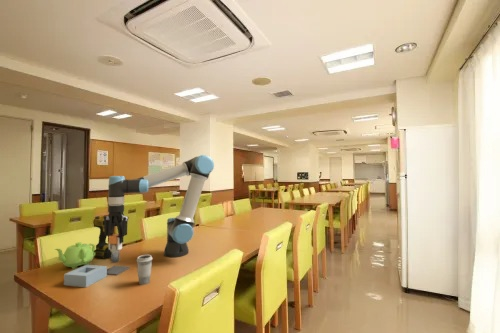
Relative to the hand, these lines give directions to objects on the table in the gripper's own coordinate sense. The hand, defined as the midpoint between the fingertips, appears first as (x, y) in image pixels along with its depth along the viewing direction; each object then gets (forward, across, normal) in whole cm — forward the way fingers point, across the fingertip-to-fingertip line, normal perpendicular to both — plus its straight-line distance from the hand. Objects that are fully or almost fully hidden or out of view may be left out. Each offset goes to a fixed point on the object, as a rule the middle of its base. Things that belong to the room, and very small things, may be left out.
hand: (115, 248), depth 128 cm
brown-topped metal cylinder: (+7, 0, 0) cm, 7 cm away
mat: (+11, 0, 0) cm, 11 cm away
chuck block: (+11, +5, +13) cm, 18 cm away
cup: (+12, -24, +10) cm, 29 cm away
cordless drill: (+12, +20, -19) cm, 30 cm away
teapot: (+12, +27, -2) cm, 29 cm away
